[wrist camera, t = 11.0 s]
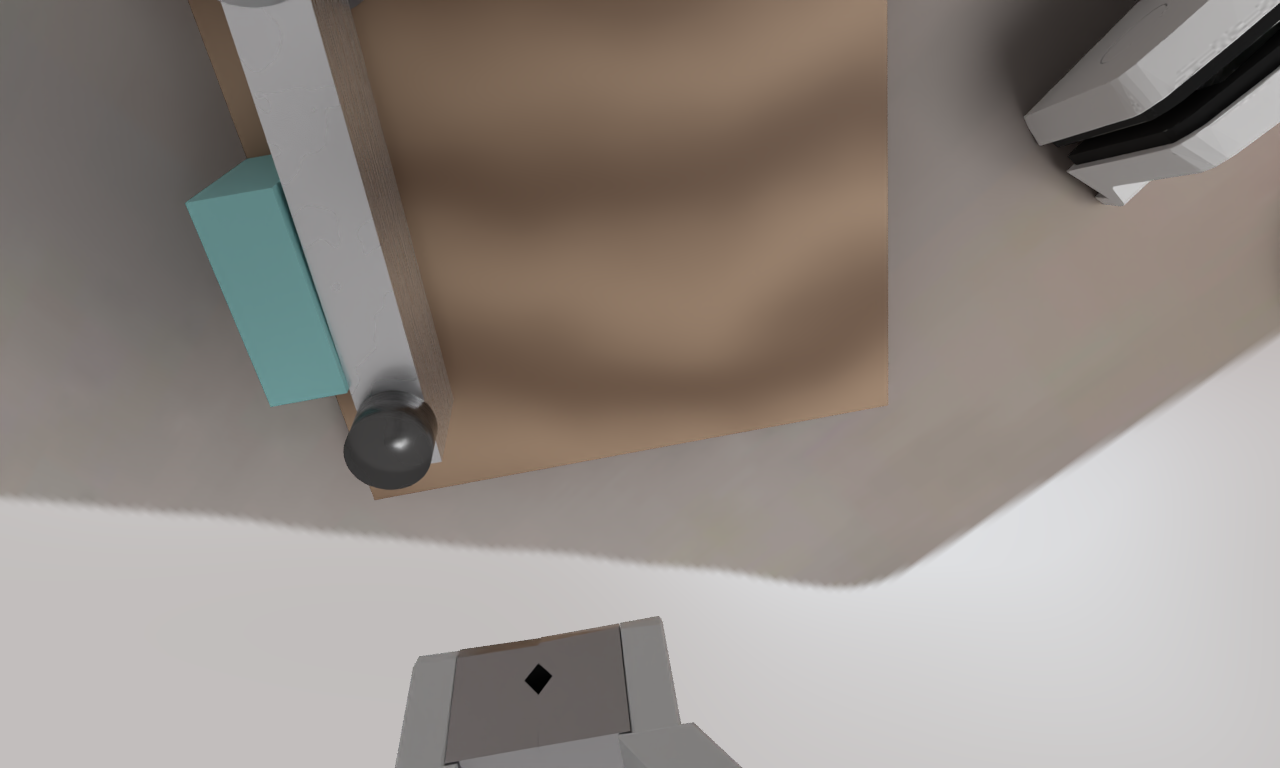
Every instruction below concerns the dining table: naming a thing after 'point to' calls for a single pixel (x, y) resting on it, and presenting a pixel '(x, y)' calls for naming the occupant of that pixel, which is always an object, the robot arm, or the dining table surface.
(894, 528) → the dining table surface
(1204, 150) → the white slotted block
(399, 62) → the wooden cutting board
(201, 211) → the block
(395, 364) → the lock bar
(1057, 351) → the dining table surface
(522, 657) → the robot arm
